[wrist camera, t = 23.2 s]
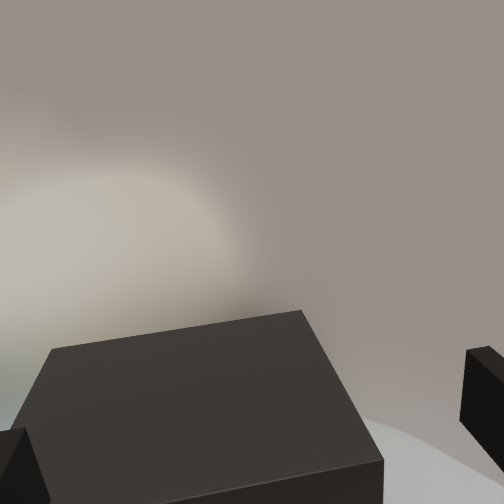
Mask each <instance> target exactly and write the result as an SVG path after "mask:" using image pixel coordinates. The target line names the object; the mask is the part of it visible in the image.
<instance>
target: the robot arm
mask: <svg viewBox="0 0 504 504" xmlns="http://www.w3.org/2000/svg"><path fill="white" fill-rule="evenodd" d="M459 420H460V422H461V423H462V424H463V425H464V426H465V428H466V429H467V430H468V431H469V432H470V433H471V434H472V436H473V437H474V438H475V439H476V440H477V442H478V443H479V444H480V445H481V446H482V447H483V449H484V450H485V451H486V452H487V453H488V455H489V456H490V457H491V458H492V459H493V460H494V461H495V463H496V464H497V465H498V466H499V467H500V469H501V470H502V471H503V472H504V358H503V357H502V356H501V355H500V354H498V353H497V352H496V351H495V350H494V349H492V348H491V347H490V346H486V347H480V348H475V349H469V350H466V361H465V370H464V380H463V389H462V399H461V410H460V419H459ZM50 501H51V498H50V495H49V492H48V489H47V487H46V484H45V481H44V478H43V475H42V473H41V470H40V467H39V464H38V461H37V458H36V456H35V453H34V450H33V447H32V444H31V442H30V439H29V436H28V433H27V430H26V427H23V428H17V429H11V430H6V431H0V504H50Z"/></svg>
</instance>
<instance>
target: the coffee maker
mask: <svg viewBox="0 0 504 504" xmlns="http://www.w3.org/2000/svg"><path fill="white" fill-rule="evenodd" d="M23 427H26V430H27V433H28V436H29V439H30V442H31V444H32V447H33V450H34V453H35V456H36V458H37V461H38V464H39V467H40V470H41V473H42V475H43V478H44V481H45V484H46V487H47V489H48V492H49V495H50V498H51V501H50V504H383V487H384V459H383V457H382V455H381V453H380V451H379V449H378V448H377V446H376V444H375V442H374V440H373V439H372V437H371V435H370V433H369V431H368V430H367V428H366V426H365V424H364V422H363V421H362V419H361V417H360V415H359V413H358V412H357V410H356V408H355V406H354V404H353V402H352V401H351V399H350V397H349V396H348V393H347V392H346V390H345V388H344V386H343V384H342V383H341V381H340V379H339V377H338V375H337V374H336V372H335V370H334V368H333V366H332V365H331V363H330V361H329V359H328V357H327V355H326V354H325V352H324V350H323V348H322V346H321V345H320V343H319V341H318V339H317V337H316V336H315V334H314V332H313V330H312V328H311V327H310V325H309V323H308V321H307V319H306V317H305V316H304V314H303V312H302V311H301V310H298V311H291V312H285V313H278V314H272V315H266V316H259V317H253V318H247V319H240V320H234V321H228V322H221V323H215V324H208V325H202V326H195V327H189V328H183V329H176V330H170V331H164V332H157V333H151V334H144V335H138V336H131V337H125V338H119V339H113V340H106V341H100V342H93V343H87V344H80V345H74V346H68V347H62V348H55V349H52V350H51V351H50V353H49V355H48V357H47V359H46V361H45V363H44V365H43V367H42V369H41V371H40V373H39V375H38V376H37V378H36V380H35V382H34V384H33V386H32V388H31V390H30V392H29V394H28V396H27V398H26V400H25V402H24V403H23V405H22V407H21V409H20V411H19V413H18V415H17V417H16V419H15V421H14V423H13V425H12V426H11V429H17V428H23ZM11 429H10V430H11Z"/></svg>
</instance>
